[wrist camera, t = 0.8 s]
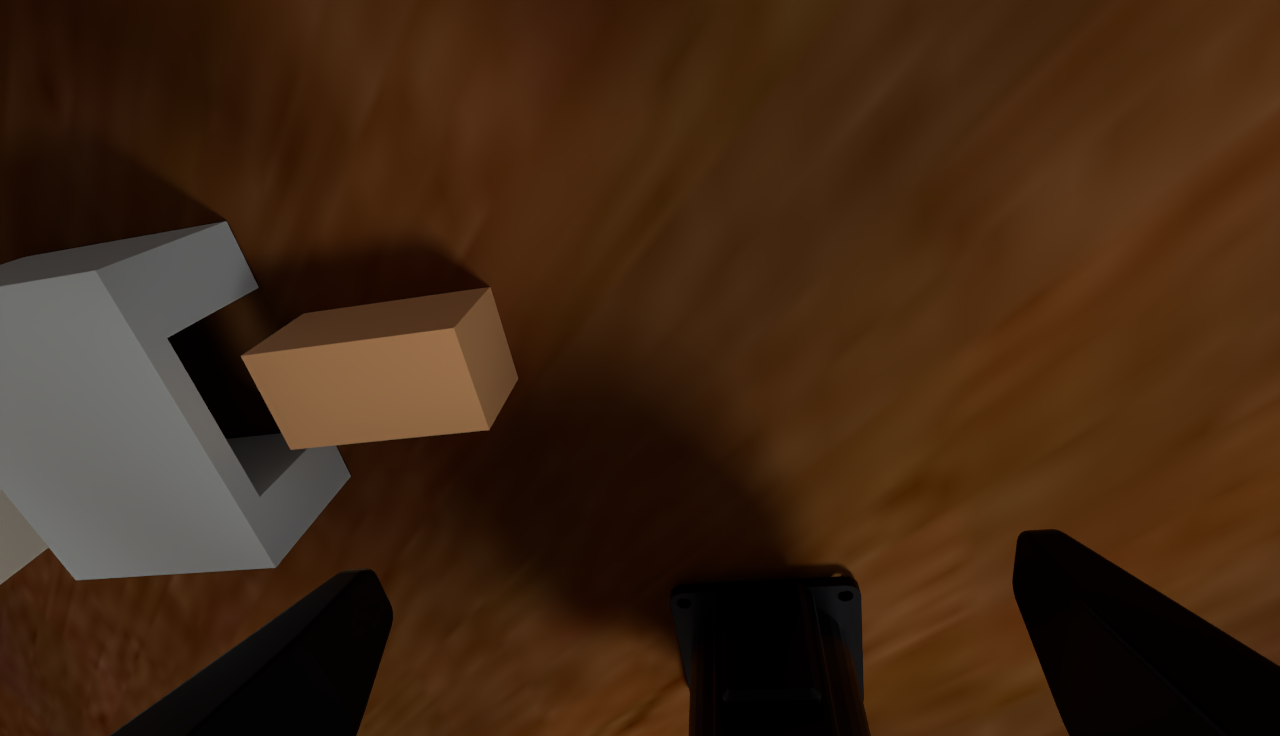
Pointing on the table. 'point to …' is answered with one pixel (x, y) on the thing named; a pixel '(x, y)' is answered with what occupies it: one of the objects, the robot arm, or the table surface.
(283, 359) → the tan rectangular brick
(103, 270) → the sled
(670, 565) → the table surface
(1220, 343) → the table surface
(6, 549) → the wall
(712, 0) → the table surface
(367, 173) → the table surface
